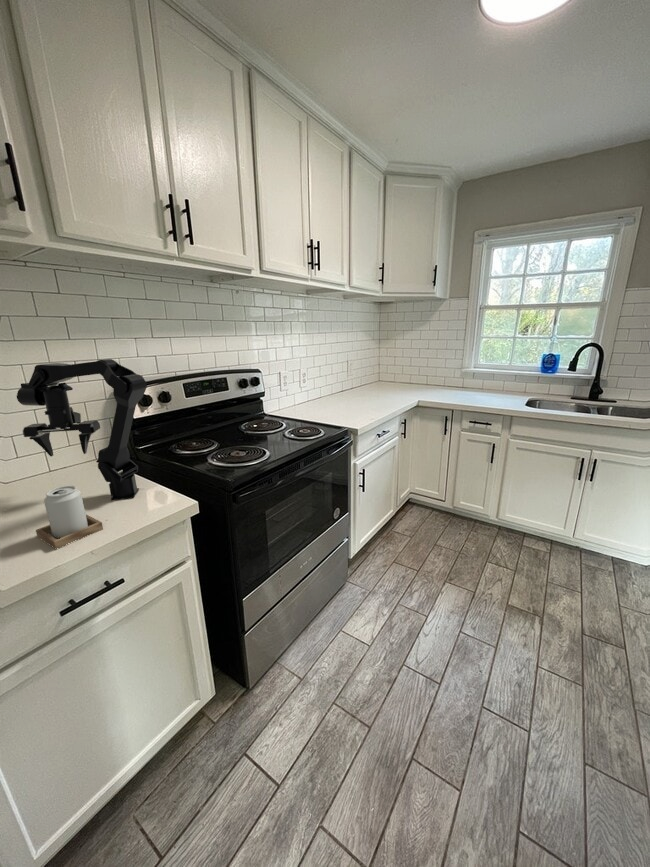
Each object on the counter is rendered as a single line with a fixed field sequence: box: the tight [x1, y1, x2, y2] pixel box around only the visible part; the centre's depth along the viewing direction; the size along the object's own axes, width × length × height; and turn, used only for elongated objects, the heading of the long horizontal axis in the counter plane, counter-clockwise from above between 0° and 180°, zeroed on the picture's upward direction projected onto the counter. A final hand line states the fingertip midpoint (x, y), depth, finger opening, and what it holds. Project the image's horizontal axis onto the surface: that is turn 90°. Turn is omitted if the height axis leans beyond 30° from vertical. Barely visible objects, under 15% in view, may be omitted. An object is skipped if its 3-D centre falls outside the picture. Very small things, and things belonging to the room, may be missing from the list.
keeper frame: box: [35, 514, 104, 550], centre depth 90 cm, size 11×11×2 cm
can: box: [43, 485, 89, 539], centre depth 89 cm, size 8×8×12 cm
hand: (68, 454), depth 110 cm, fingers open, 9 cm apart
